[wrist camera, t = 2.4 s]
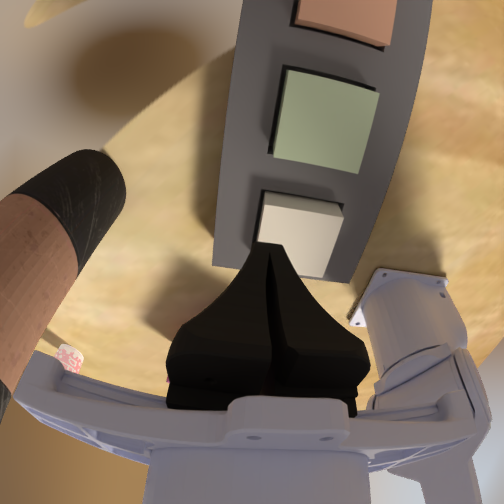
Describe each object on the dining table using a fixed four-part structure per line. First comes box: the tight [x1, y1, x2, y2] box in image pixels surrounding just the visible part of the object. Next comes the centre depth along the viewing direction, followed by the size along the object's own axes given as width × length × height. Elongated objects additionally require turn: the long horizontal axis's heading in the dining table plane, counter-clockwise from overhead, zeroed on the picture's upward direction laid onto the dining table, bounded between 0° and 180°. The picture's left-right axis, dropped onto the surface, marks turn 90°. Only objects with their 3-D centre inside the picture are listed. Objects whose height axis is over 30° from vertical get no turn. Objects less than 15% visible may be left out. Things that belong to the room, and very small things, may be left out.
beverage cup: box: [54, 344, 84, 374], centre depth 33 cm, size 6×6×14 cm
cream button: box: [256, 191, 344, 278], centre depth 20 cm, size 5×5×2 cm
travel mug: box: [0, 149, 126, 423], centre depth 14 cm, size 8×8×20 cm
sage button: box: [273, 70, 380, 174], centre depth 15 cm, size 5×5×2 cm
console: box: [212, 0, 433, 284], centre depth 16 cm, size 11×24×3 cm, turn 172°
